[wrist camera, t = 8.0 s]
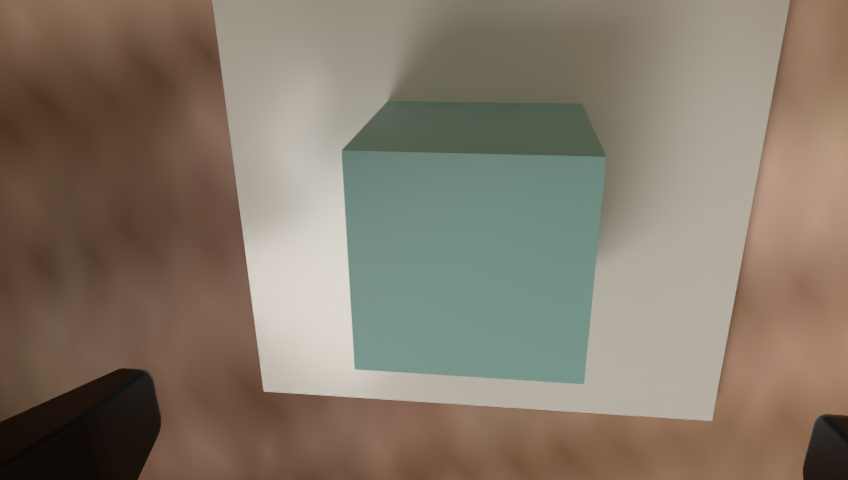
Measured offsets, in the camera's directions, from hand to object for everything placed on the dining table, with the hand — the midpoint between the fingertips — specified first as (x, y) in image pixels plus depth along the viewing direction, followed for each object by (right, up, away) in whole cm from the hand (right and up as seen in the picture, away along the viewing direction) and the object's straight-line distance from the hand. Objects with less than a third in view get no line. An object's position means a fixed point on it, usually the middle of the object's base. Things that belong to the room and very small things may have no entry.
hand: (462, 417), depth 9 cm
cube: (+1, +4, +9) cm, 10 cm away
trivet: (+1, +4, +10) cm, 11 cm away
